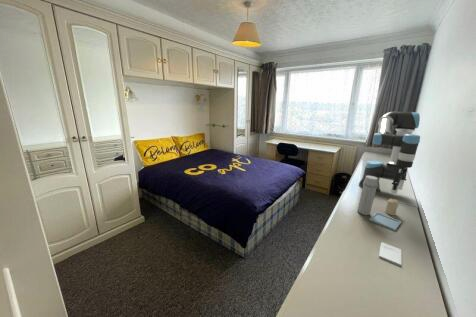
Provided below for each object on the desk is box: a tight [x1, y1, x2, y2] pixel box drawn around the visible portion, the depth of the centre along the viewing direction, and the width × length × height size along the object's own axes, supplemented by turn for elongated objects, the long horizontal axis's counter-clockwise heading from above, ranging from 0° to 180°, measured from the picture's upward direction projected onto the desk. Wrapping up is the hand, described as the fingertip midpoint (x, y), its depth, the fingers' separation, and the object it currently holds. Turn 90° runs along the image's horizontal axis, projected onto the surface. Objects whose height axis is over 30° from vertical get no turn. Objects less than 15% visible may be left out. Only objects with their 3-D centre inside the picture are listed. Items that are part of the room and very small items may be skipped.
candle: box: [384, 198, 399, 216], centre depth 126 cm, size 6×6×10 cm
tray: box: [368, 211, 402, 232], centre depth 117 cm, size 13×13×1 cm
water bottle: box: [357, 176, 378, 216], centre depth 122 cm, size 9×8×25 cm
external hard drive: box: [378, 241, 403, 268], centre depth 92 cm, size 2×8×12 cm
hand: (396, 191), depth 123 cm, fingers open, 13 cm apart
